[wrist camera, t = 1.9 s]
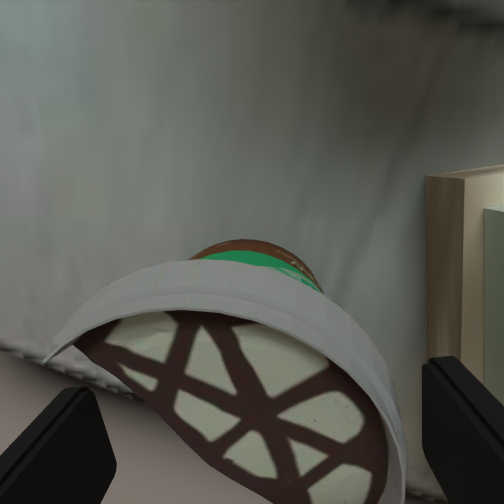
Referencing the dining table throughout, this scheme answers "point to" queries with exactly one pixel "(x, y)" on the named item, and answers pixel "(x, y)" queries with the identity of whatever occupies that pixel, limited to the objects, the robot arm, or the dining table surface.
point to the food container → (253, 373)
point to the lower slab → (458, 261)
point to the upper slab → (494, 301)
